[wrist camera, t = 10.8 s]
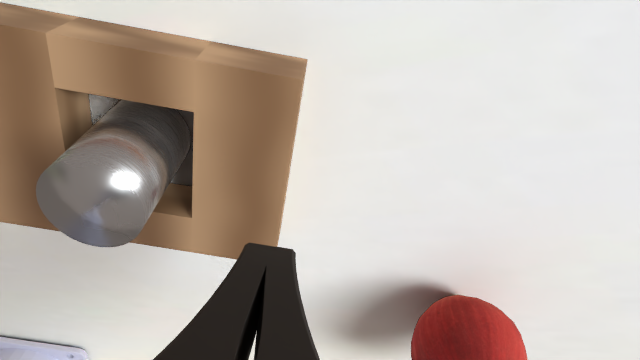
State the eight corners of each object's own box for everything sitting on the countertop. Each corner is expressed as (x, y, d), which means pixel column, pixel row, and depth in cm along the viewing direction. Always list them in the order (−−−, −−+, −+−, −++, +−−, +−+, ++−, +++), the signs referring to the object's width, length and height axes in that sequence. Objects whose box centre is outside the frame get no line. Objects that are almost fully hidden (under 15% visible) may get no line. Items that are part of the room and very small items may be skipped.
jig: (22, 191, 24) (-8, 220, 22) (-24, -2, 19) (-70, 11, 16) (279, 233, 25) (273, 265, 23) (307, 59, 19) (302, 79, 17)
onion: (421, 339, 29) (444, 473, 22) (390, 281, 26) (407, 414, 20) (511, 317, 28) (565, 453, 21) (489, 253, 25) (543, 386, 18)
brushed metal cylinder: (114, 163, 23) (49, 240, 18) (102, 89, 21) (23, 154, 16) (192, 173, 23) (149, 252, 18) (189, 101, 21) (138, 168, 16)
